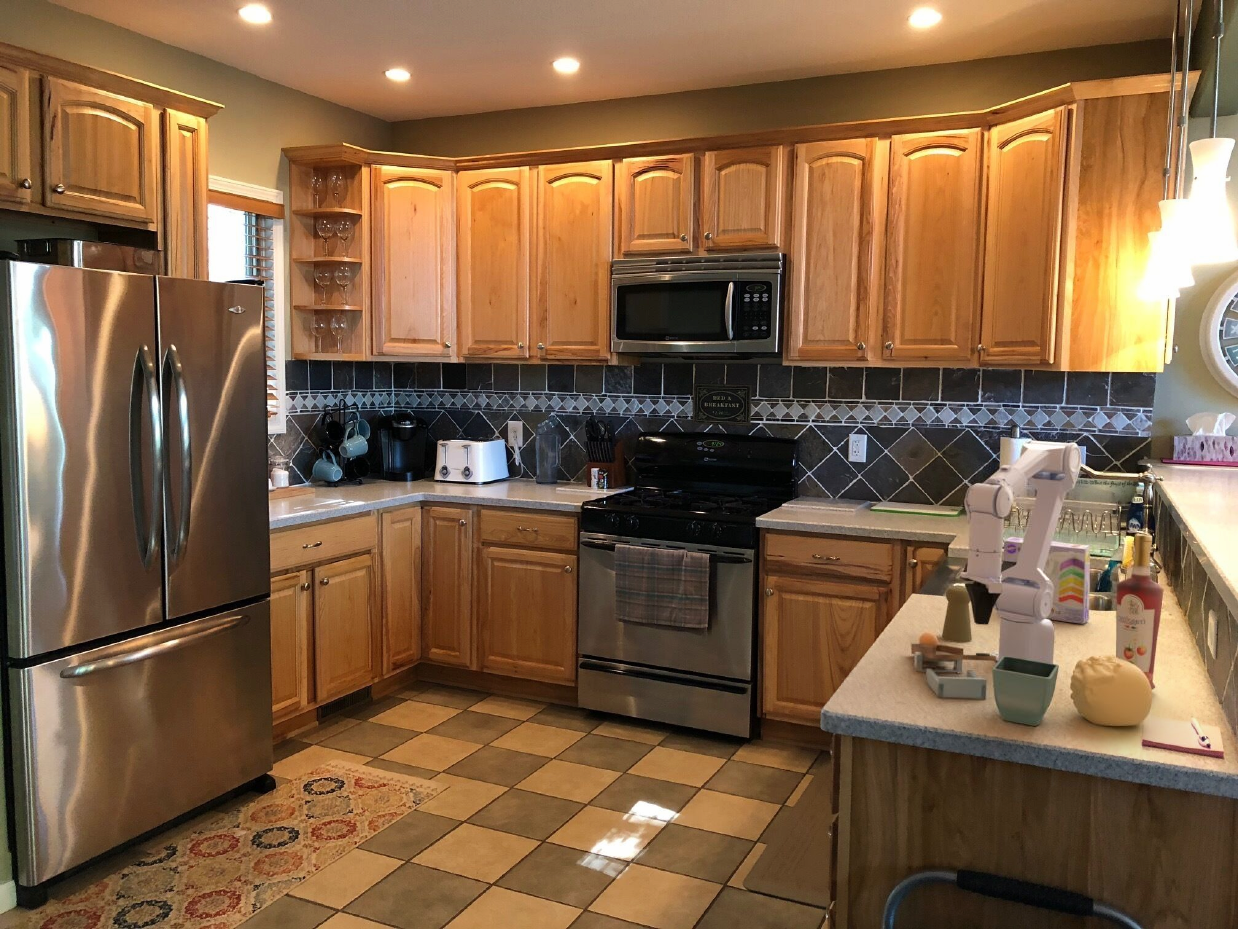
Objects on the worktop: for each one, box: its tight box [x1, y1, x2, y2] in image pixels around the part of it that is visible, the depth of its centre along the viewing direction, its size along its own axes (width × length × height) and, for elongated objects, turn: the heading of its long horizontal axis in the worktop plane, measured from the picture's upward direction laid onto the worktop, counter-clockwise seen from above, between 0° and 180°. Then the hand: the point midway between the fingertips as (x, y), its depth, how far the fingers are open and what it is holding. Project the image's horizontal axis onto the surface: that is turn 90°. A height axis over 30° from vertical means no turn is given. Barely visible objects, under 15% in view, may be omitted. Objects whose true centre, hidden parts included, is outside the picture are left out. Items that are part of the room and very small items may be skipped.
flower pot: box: [991, 656, 1060, 727], centre depth 161 cm, size 9×9×9 cm
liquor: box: [1115, 533, 1164, 691], centre depth 176 cm, size 7×7×28 cm
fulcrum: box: [913, 652, 964, 674], centre depth 187 cm, size 8×2×3 cm, turn 87°
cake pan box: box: [1001, 536, 1091, 625], centre depth 229 cm, size 19×5×18 cm, turn 49°
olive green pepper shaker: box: [941, 585, 973, 643], centre depth 209 cm, size 6×6×11 cm
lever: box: [910, 643, 996, 663], centre depth 188 cm, size 11×16×3 cm
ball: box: [918, 632, 939, 648], centre depth 194 cm, size 4×4×4 cm
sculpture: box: [1069, 653, 1153, 727], centre depth 161 cm, size 11×12×11 cm
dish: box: [925, 669, 988, 700], centre depth 175 cm, size 8×9×4 cm
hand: (981, 623), depth 181 cm, fingers closed
